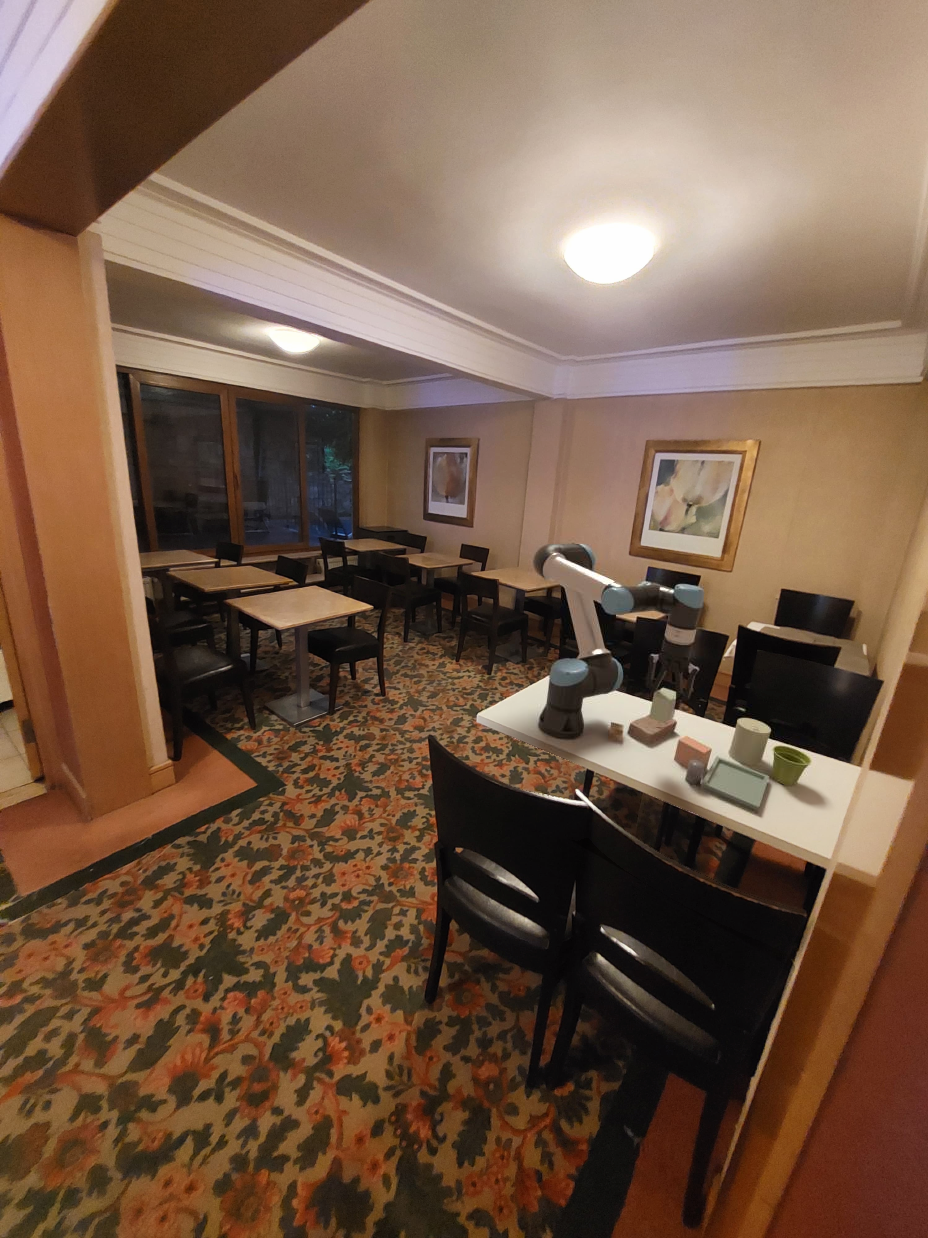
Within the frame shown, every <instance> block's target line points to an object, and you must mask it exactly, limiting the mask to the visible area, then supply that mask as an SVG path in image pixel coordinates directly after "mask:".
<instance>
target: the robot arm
mask: <svg viewBox="0 0 928 1238" xmlns="http://www.w3.org/2000/svg"><path fill="white" fill-rule="evenodd" d="M595 558H596V557H595V554H594V552H593V550H592V549H591V548H590V547H589V546H588V545H585V544H584V543H577V542H576V543H575V542H571V543H547V544H544V545H542V546H540V547H539V548H538V549H537V550H536V552H535V554H534V555H533V559H532V564H533V565H532V566H533V569H534V571H535V572H536V573H537V575H538V576H540V577H541V578H543V579H544V580H547V582H548V581H549V582H558V583H559V586H561V587H563V588H564V590H565V595H566V600H567V603H568V608H569V612H570V617H571V621H572V625H573V629H574V633H575V639H576V642H577V646H578V647H577V648H578V651H579V654H578V656H577V657H576V658H569V657H567V658H561V659H558V660H556V661H555V662H553V664H552V665H551V667H550V668H551V669H550V672H549V677H548V678H549V681H548V688H547V694H546V695H547V697H546V703H545V705H544V707H543V709H542V711H541V712H540V715H539V717H538V727H539V729H540V730H541V731H542V732H543V733H545V734H546V733H547V734H546V735H548V734H549V735H548V736H550V737H553V736H554V738H557V739H564V740H572V739H573V740H574V739H576V738H579V737H581V736H582V735H583V734H584V731H585V722H584V716H583V711H582V709H583V702H584V699H586V698H590V697H596V696H599V695H600V696H601V695H607V694H610V693H612V692H615V691H617V690H618V689H619V688H620V686H621V685H622V683H623V678H624V672H623V668H622V665H621V663H620V662H618V660H617V659H615V658H614V657H613V656H612V652H611V651H610V650H608V649H607V648H606V647H605V643H604V639H603V635H602V631H601V627H600V623H599V618H598V615H597V611H596V607H595V603H594V601H595V602H597V603H599V604H600V605H601V607H602V608H603V610H604V612H605V613H607V614H609V615H612V616H614V615H615V616H616V615H617V616H623V615H626V614H636V613H645V612H657V613H661V614H663V615H666V616H667V617H668V618H667V623H666V628H665V633H664V638H663V641H662V647H661V651H660V652H659V654H654V653H651V654H650V655H649V656H648V663H649V665H648V670H647V675H646V679H645V685H644V686H645V688H648V689H649V690H650V695H649V701H650V702H653V698H654V695H656V694H657V693H658V692H659V691H660V689H659V687H660V684H661V683H662V681H663V679H664V677H665V675H666V673H667V672H671V673H673V674H674V679H675V692H676V696H675V697H674V698H673V701H672V705H671V709H670V714H669V718H668V719H669V720H671V719H674V717H675V713H676V710H677V711H678V710H679V709H680V708H681V704H682V702H683V700H684V701H688V700H689V699H690V697H691V693H692V690H693V687H694V682H695V678H696V675H697V673H698V672H699V671H700V667H699V666H695V665H693V664H692V662H691V656H692V655H691V654H692V650H693V645H694V644H693V643H694V642H695V637H696V634H697V633H696V632H697V627H698V623H699V619H700V617H701V612H702V608H703V607H704V598H705V591H704V589H703V588H702V587H700V586H697V585H692V584H687V583H679V584H676V585H675V587H674V588H672V587H668V586H667V585H662V584H659V583H657V582H651V581H646V580H645V581H642V582H640V583H639V584H637V585H630V586H629V585H625V584H622V583H620V582H617V581H616V580H613V579H612V578H609V577H607V576H604V575H602V574H600V573H598V572H596V571H594V569H595V565H596V559H595ZM658 661H659V663H660V664H661V668H660V671H659V673H658V674H657V677H656V678H655V681H654V676H655V670H656V666H657V662H658ZM687 668H688V673H689V674H688V678H687V681H686V685H685V689H684V688H683V685H684V684H683V674H684V670H685V669H687ZM653 681H654V682H653ZM683 689H684V691H683ZM651 707H652V705H651ZM651 707H650V708H651ZM650 712H651V710H650V711H649V713H650Z"/></svg>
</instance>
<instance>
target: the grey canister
mask: <svg viewBox="0 0 928 1238" xmlns="http://www.w3.org/2000/svg"><path fill="white" fill-rule="evenodd" d="M704 768H705V765H704V764H703V763H702V762H700V761H698V760H690V761H689V765H688V767H687V770H686V774H685V778H684V781H685V782H686V783H687V784H688V785H690V786H693V787H699V786H701V784H702V781H703V775H704V772H705V770H704Z"/></svg>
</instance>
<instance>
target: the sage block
mask: <svg viewBox="0 0 928 1238" xmlns="http://www.w3.org/2000/svg"><path fill="white" fill-rule="evenodd" d="M675 696H676V690H675V691H674V690H672V689H669V688H665V687H662V688H660V689H659V692H658V693H657V694H656V695H654V698H653V702H652V701H651V702H652V703H651V706H652V707H650V711H651V712H650V711H649V714H650V716H649V718H651V719H654V720H657V721H659V722H662V723H666V722H667V721H668V720H669V719H668V718H669V714H670V709H671V705H672V701H673V698H674V697H675Z"/></svg>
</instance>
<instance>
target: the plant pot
mask: <svg viewBox="0 0 928 1238" xmlns="http://www.w3.org/2000/svg"><path fill="white" fill-rule="evenodd" d="M772 752H773V761H772V762H773V763H772V769H771V778H772V779H773V780H775V781H776V782H778V783H781V784H783V785H785V786H789V787H794V786H796V784H797V783H798V782H799V779H800V777H802V774H803V773H804V771H805V769H806V768H808V766H809V765H811V763H812V759H811V758H810V756H808V755H807V754H806V753H804V752H803V751H801V750H799V749H796V748H794V747H790V746H787V745H781V744H780V745H779V744H778V745H774V746H773V747H772Z"/></svg>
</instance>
